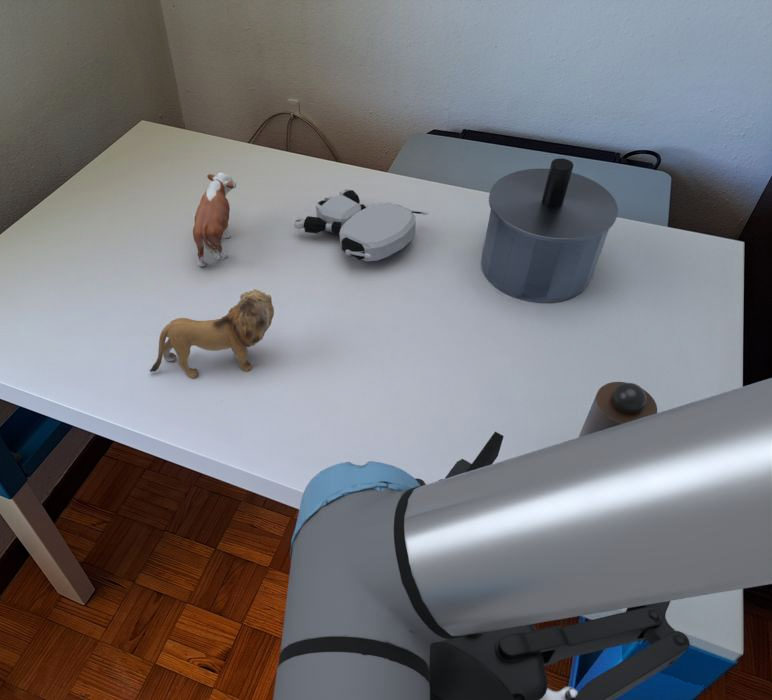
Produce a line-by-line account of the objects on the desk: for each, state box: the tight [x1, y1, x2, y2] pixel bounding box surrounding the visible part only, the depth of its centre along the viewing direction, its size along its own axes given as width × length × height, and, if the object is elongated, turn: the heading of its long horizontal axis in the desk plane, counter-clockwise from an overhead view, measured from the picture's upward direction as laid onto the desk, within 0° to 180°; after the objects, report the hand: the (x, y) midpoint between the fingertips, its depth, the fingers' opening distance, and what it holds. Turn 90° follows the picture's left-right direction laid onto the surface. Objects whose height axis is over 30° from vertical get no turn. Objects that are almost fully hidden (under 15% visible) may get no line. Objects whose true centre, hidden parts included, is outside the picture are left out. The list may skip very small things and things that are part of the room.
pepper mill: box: [577, 381, 658, 438], centre depth 60 cm, size 5×5×14 cm
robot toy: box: [293, 188, 430, 263], centre depth 92 cm, size 12×4×15 cm
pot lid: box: [488, 157, 619, 242], centre depth 79 cm, size 15×15×6 cm
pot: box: [480, 209, 609, 304], centre depth 84 cm, size 14×14×10 cm
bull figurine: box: [192, 171, 237, 268], centre depth 91 cm, size 4×13×8 cm, turn 171°
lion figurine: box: [149, 289, 275, 379], centre depth 75 cm, size 15×5×9 cm, turn 104°
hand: (578, 486), depth 52 cm, fingers open, 13 cm apart
